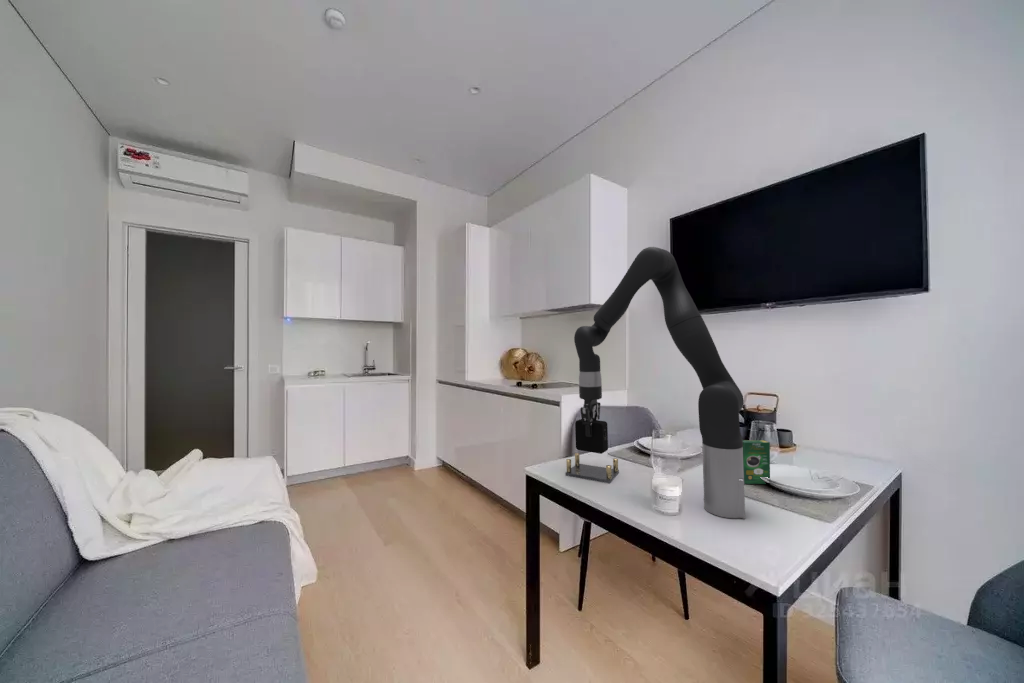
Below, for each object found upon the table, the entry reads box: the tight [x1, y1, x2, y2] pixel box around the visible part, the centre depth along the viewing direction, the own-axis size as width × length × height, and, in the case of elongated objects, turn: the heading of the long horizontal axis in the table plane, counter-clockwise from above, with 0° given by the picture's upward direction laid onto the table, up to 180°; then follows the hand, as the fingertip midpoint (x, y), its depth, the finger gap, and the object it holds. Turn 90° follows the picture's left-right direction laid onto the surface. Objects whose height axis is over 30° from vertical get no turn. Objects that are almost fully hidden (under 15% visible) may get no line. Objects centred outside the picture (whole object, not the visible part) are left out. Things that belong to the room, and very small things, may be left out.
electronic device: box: [574, 418, 609, 454], centre depth 124 cm, size 4×10×10 cm, turn 53°
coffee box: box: [743, 439, 771, 485], centre depth 114 cm, size 8×3×13 cm, turn 87°
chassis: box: [565, 452, 620, 484], centre depth 124 cm, size 15×11×5 cm
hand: (591, 434), depth 124 cm, fingers closed on electronic device, 4 cm apart
